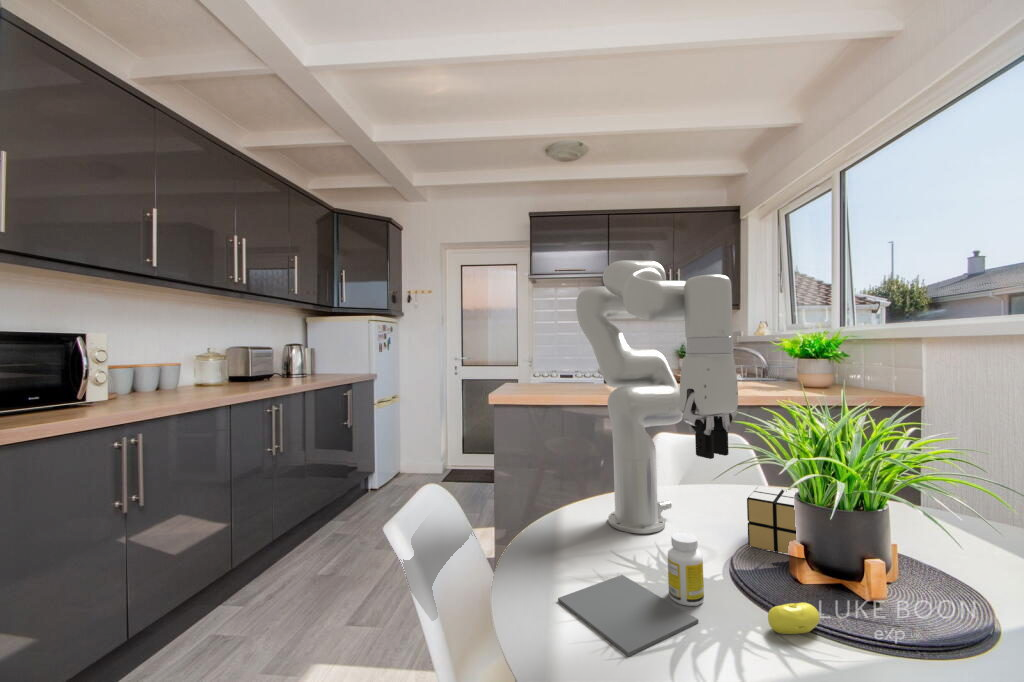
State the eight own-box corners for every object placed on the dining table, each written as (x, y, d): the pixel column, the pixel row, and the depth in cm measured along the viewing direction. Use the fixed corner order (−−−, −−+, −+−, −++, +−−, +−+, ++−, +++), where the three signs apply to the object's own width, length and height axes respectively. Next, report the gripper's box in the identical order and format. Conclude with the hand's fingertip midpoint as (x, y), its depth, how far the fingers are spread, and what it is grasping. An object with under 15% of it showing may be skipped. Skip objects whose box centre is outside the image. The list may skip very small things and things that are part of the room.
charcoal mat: (622, 577, 83) (622, 574, 83) (698, 622, 69) (698, 619, 69) (558, 601, 76) (558, 597, 76) (628, 656, 62) (628, 652, 62)
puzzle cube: (759, 531, 102) (757, 485, 102) (813, 542, 96) (812, 493, 96) (747, 547, 94) (746, 497, 94) (806, 560, 88) (804, 507, 88)
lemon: (759, 625, 69) (759, 598, 69) (808, 619, 70) (808, 593, 70) (780, 643, 64) (779, 614, 64) (831, 636, 66) (831, 608, 66)
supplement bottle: (706, 594, 77) (704, 534, 77) (701, 610, 72) (699, 547, 73) (672, 586, 80) (670, 528, 80) (665, 601, 75) (663, 540, 75)
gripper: (720, 347, 88) (723, 445, 87) (658, 349, 79) (661, 458, 79) (758, 346, 81) (761, 453, 81) (695, 349, 73) (699, 467, 73)
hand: (712, 454), depth 80 cm, fingers open, 3 cm apart
